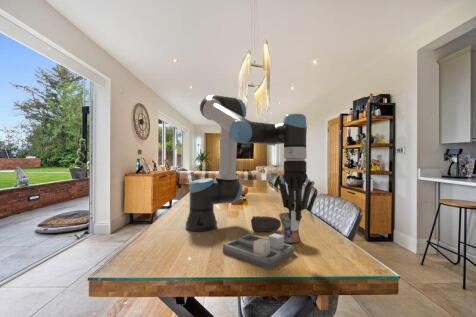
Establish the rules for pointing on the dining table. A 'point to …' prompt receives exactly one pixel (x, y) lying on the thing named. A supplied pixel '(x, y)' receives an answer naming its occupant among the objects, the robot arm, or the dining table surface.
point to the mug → (288, 229)
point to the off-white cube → (261, 247)
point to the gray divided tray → (245, 251)
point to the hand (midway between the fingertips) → (294, 229)
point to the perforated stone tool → (265, 223)
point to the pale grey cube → (276, 241)
